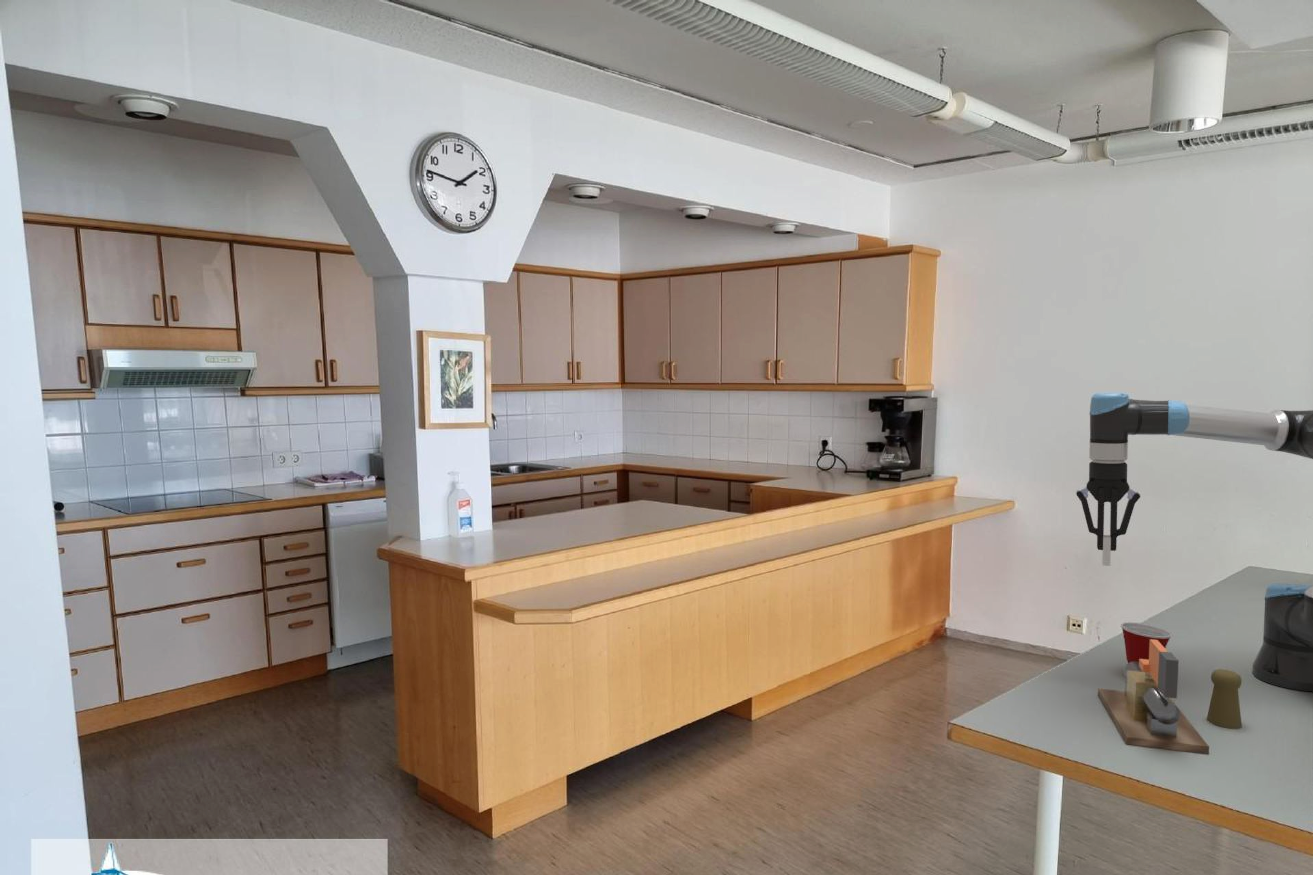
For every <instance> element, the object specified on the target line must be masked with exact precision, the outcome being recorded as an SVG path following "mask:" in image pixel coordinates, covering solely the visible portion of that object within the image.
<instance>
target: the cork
mask: <svg viewBox="0 0 1313 875" xmlns="http://www.w3.org/2000/svg"><path fill="white" fill-rule="evenodd" d="M1210 680H1211V683H1212V684H1213V688H1212V693H1211V698H1210V702H1209V706H1208V711H1207V712H1208V713H1207V716H1206V721H1207V722H1208V721H1209V722H1208V723H1209V724H1211V723H1212V725H1214V726H1217V727H1221V728H1225V729H1231V730H1233V729H1235V730H1236V729H1237V730H1238V729H1241V728H1242V726H1243V723H1242V716H1241V715H1242V714H1241V706H1240V704H1241V703H1240V697H1239V696H1240V695H1239V689H1240V688H1241V685H1242V682H1243V681H1242V678H1241V676H1240V673H1237V672H1236V671H1233V670H1229V669H1223V668H1219V669H1215V670H1214V671H1212V673H1211V676H1210Z"/></svg>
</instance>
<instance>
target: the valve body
mask: <svg viewBox="0 0 1313 875" xmlns="http://www.w3.org/2000/svg"><path fill="white" fill-rule="evenodd" d="M1123 673H1124V675H1125V677H1126V680H1125V683H1124V691H1125V696H1126V708H1127V709H1128V711H1129V712H1130V714H1131V715H1132V717H1133V718H1134V720H1141V721H1147V730H1148V731H1149V733H1150V734H1151V735H1157V736H1166V737H1175V738H1176V736H1177V721H1178V720H1179V718H1180V712H1179V710H1180V708H1179V707H1178V706H1177V704H1174V703H1175V698H1167V697H1164V696H1163V694H1162V693H1161V692H1160V690H1159V689H1158V684H1157V683H1156V682H1155V680H1154V679H1153V678H1150V677H1147V676H1145V672H1143V671H1142V670H1141V668H1140V667H1139V662H1129V663H1128V662H1127V663H1126V664H1125V666H1124V667H1123ZM1176 706H1177V707H1178V708H1179V709H1178V708H1177V707H1176Z"/></svg>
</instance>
